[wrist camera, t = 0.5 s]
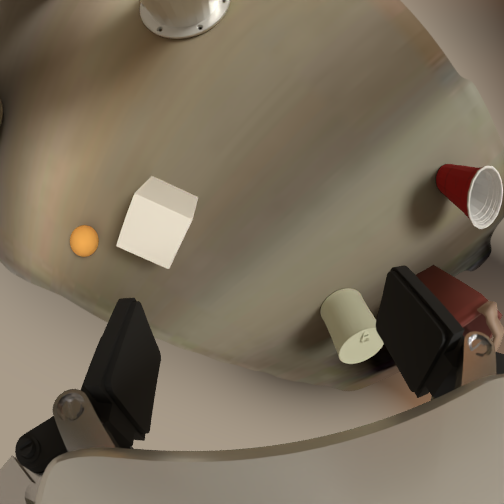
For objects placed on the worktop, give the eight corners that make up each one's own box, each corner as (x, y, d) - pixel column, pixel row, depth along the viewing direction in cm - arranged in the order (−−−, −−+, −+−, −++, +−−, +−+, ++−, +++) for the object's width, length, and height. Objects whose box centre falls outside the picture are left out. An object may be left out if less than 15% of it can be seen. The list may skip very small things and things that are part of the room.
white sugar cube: (134, 219, 40) (116, 246, 33) (151, 175, 37) (134, 193, 30) (177, 239, 43) (168, 269, 35) (198, 197, 40) (192, 219, 32)
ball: (72, 229, 40) (59, 242, 35) (91, 215, 39) (78, 227, 35) (89, 252, 42) (77, 267, 38) (108, 239, 41) (97, 254, 37)
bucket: (417, 240, 48) (499, 320, 26) (470, 259, 52) (533, 320, 31) (366, 333, 59) (411, 420, 37) (424, 334, 63) (467, 401, 41)
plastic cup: (460, 146, 39) (505, 162, 28) (462, 196, 44) (502, 219, 33) (423, 155, 39) (470, 173, 29) (427, 209, 45) (467, 237, 34)
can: (363, 283, 51) (391, 324, 41) (359, 317, 56) (382, 357, 45) (320, 293, 51) (341, 338, 41) (319, 327, 56) (337, 371, 45)
